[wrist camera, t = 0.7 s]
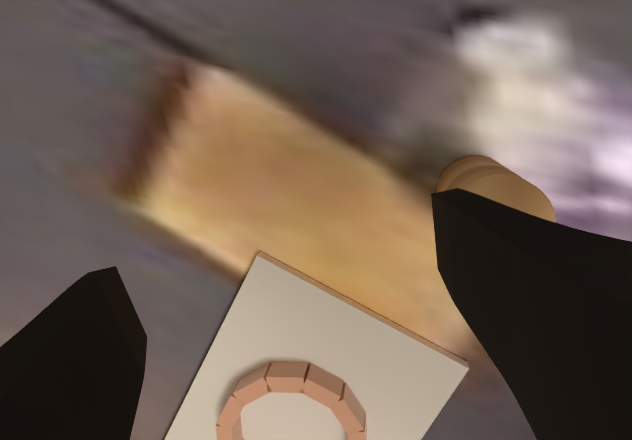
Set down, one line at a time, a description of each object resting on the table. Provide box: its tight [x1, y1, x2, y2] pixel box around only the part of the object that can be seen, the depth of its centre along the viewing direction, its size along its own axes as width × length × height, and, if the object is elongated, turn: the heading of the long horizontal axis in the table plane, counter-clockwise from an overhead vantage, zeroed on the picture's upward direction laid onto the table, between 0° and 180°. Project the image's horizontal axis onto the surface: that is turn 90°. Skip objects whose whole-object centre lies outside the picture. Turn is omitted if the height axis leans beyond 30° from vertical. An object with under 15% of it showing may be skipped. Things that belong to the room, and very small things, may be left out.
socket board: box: [165, 251, 469, 440], centre depth 33 cm, size 14×18×1 cm
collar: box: [216, 361, 367, 440], centre depth 32 cm, size 9×9×2 cm
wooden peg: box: [436, 155, 556, 223], centre depth 25 cm, size 4×4×8 cm
